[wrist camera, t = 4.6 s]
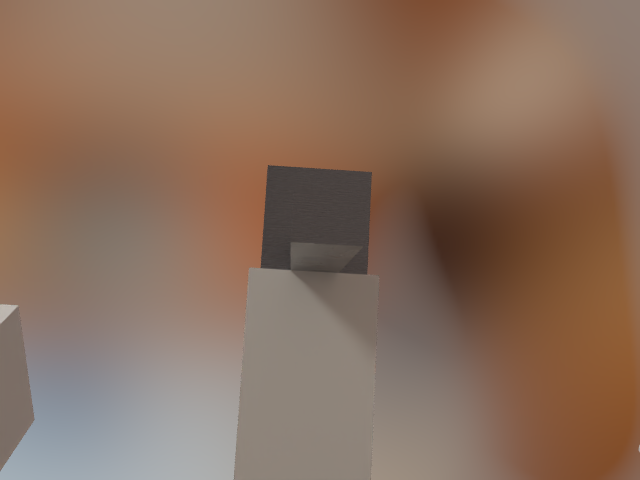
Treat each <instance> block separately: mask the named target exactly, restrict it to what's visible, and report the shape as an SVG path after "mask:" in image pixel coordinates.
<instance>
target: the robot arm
mask: <svg viewBox="0 0 640 480" xmlns="http://www.w3.org/2000/svg"><path fill="white" fill-rule="evenodd" d="M33 421H34V413H33V406H32V399H31V391H30V385H29V377H28V371H27V363H26V356H25V349H24V342H23V335H22V327H21V320H20V313H19V306H17V305H1V304H0V471H1V469H2V468H3V466H4V465H5V463H6V462H7V460H8V459H9V457H10V456H11V454H12V453H13V451H14V450H15V448H16V447H17V445H18V444H19V442H20V441H21V439H22V438H23V436H24V435H25V433H26V432H27V430H28V428H29V427H30V426H31V424H32V423H33ZM639 451H640V447H639Z"/></svg>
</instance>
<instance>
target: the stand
mask: <svg viewBox="0 0 640 480" xmlns="http://www.w3.org/2000/svg"><path fill="white" fill-rule="evenodd" d="M378 295H379V275H364V274H348V273H331V272H314V271H297V270H280V269H263V268H249V278H248V291H247V305H246V319H245V332H244V347H243V360H242V373H241V387H240V401H239V415H238V429H237V443H236V456H235V470H234V480H371V466H372V442H373V417H374V393H375V392H374V391H375V368H376V344H377V319H378Z"/></svg>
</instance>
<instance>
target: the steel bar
mask: <svg viewBox="0 0 640 480" xmlns="http://www.w3.org/2000/svg"><path fill="white" fill-rule="evenodd" d="M371 176H372V172H360V171H345V170H330V169H315V168H300V167H284V166H269V165H268V171H267V186H266V201H265V214H264V229H263V243H262V257H261V268H263V269H280V270H297V271H314V272H331V273H348V274H364V275H367V267H368V266H367V265H368V243H369V221H370V197H371Z"/></svg>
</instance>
